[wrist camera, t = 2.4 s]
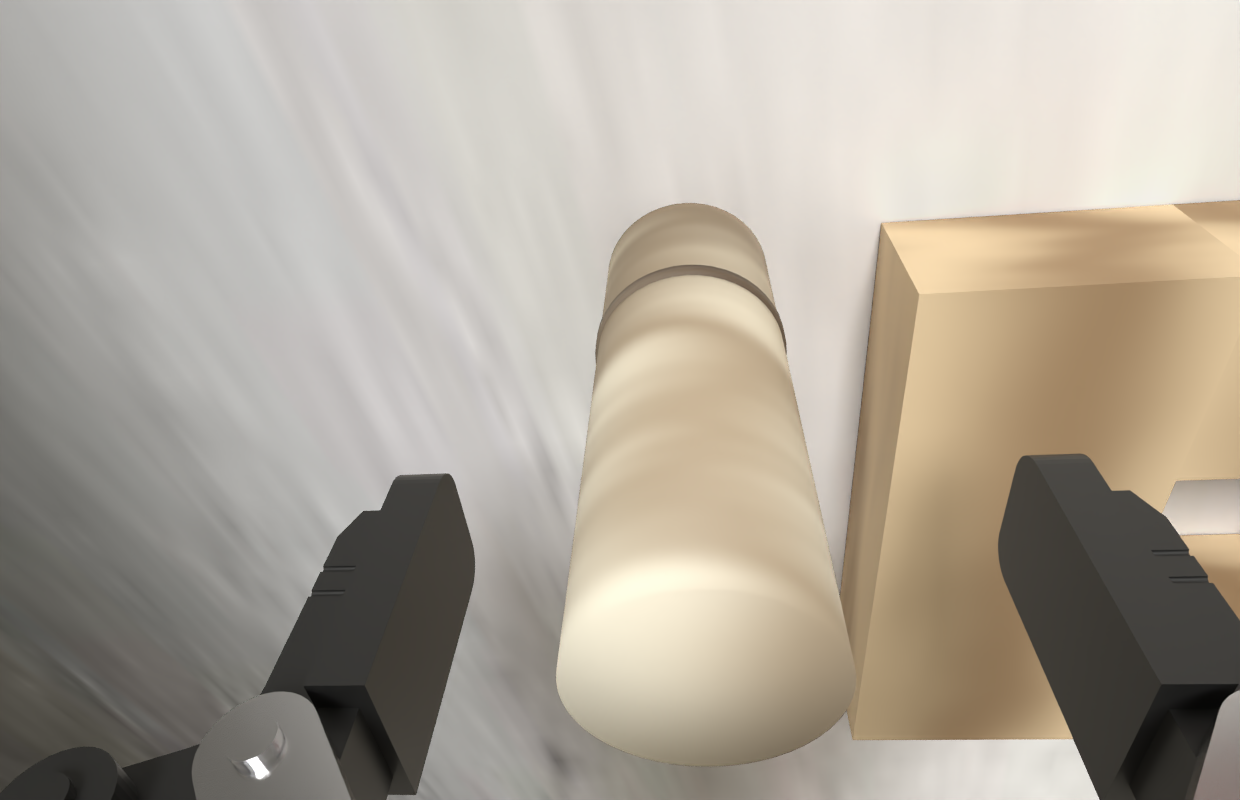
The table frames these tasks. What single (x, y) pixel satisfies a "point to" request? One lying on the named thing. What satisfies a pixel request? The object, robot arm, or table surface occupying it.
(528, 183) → the table surface
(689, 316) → the peg
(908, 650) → the board
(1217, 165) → the table surface
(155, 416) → the table surface
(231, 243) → the table surface
